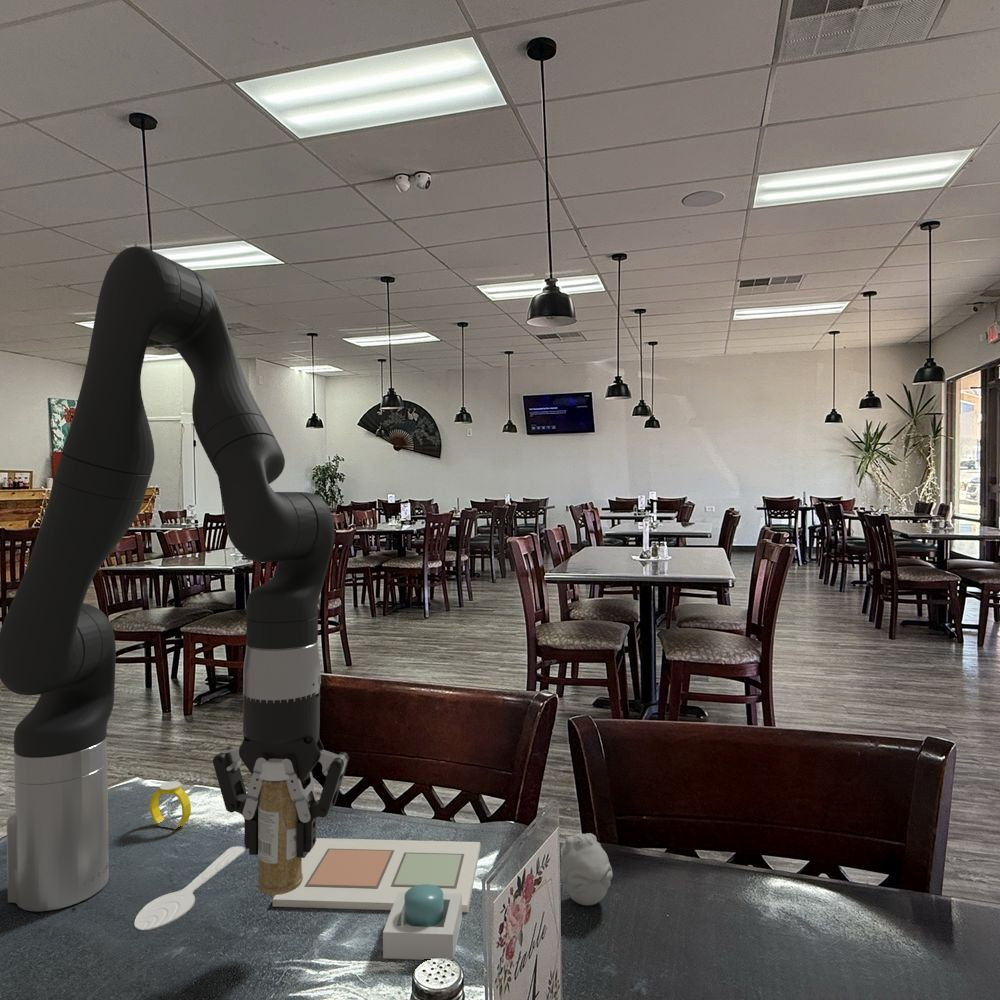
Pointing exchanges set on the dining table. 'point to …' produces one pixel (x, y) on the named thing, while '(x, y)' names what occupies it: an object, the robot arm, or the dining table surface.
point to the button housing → (422, 932)
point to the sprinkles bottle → (277, 833)
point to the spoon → (181, 896)
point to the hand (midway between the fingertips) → (280, 851)
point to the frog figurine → (585, 869)
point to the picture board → (380, 872)
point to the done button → (423, 905)
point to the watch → (178, 792)
